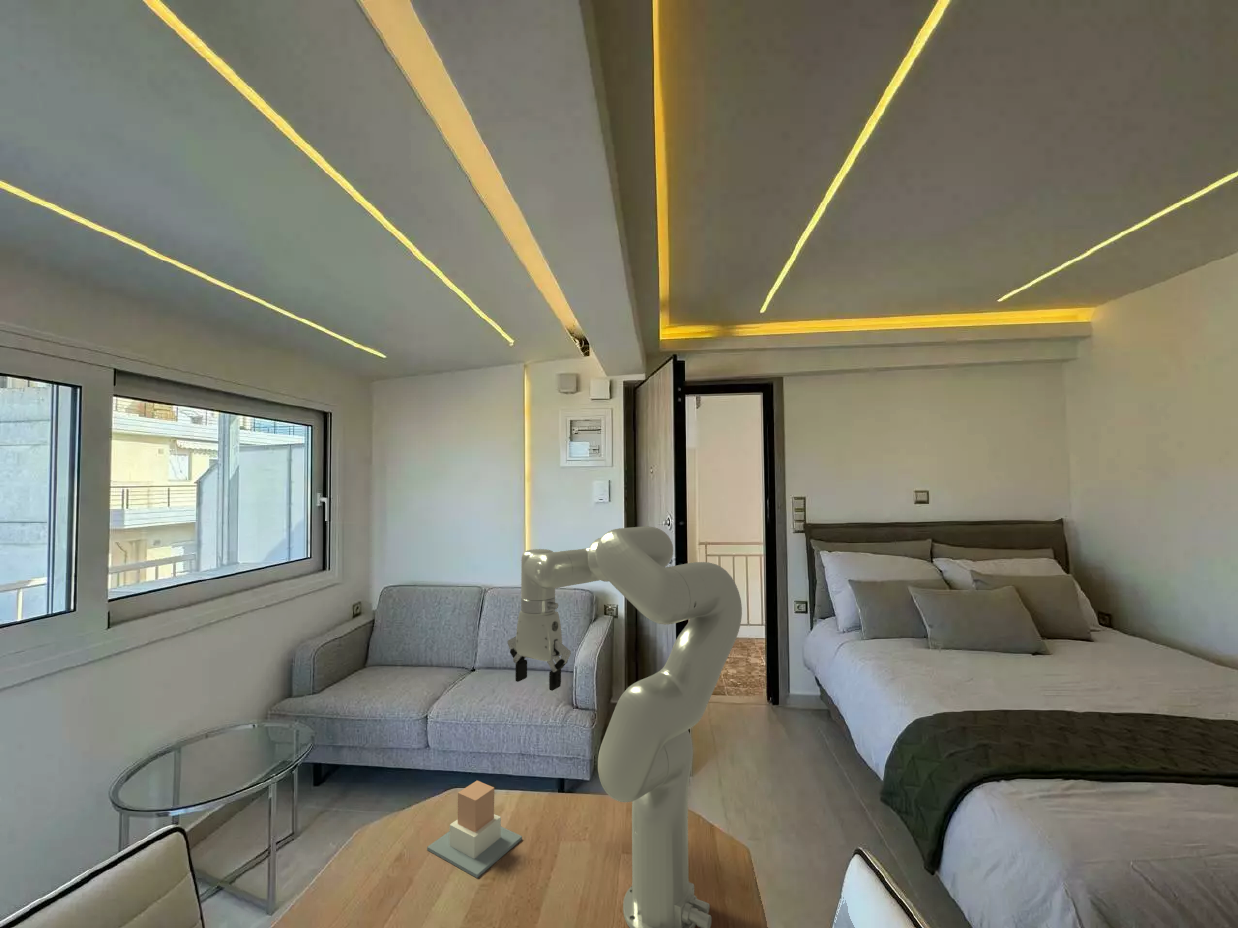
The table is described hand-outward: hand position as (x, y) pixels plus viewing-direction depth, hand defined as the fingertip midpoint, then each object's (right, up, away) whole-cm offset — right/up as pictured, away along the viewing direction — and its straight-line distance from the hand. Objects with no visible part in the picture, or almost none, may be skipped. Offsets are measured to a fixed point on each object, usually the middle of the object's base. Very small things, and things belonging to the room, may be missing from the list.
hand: (537, 683), depth 110 cm
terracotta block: (-11, -23, -10) cm, 27 cm away
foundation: (-11, -28, -10) cm, 32 cm away
